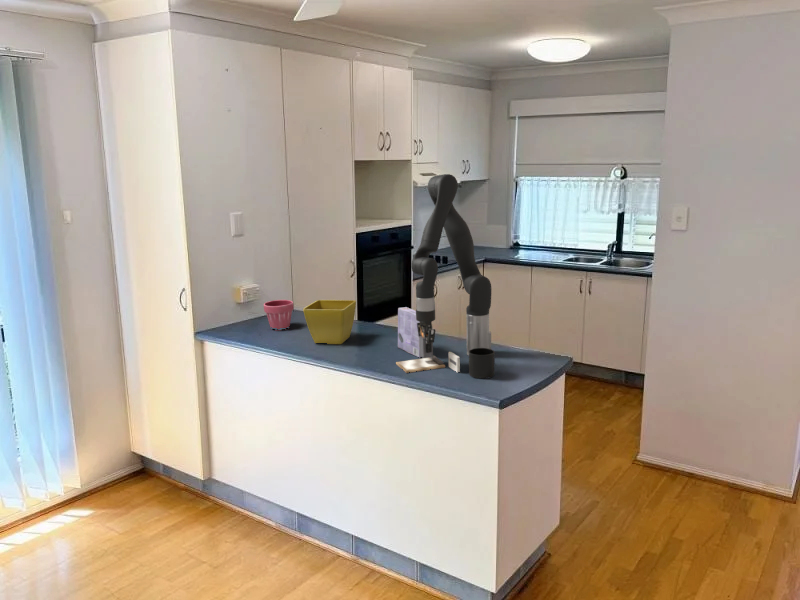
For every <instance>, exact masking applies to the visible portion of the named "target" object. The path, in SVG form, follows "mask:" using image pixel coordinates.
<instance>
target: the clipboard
mask: <svg viewBox="0 0 800 600" xmlns="http://www.w3.org/2000/svg"><path fill="white" fill-rule="evenodd" d="M395 364H396V366H397V367H399V368H400V369H401V370H402V369H403V371H404V372H405V373H406V374H408V373H409V372H410V373H415V372H416V371H417V372H422V371H423V370H424V371H428V370H430V369H431V370H436V369H437V370H438V369H444V368H446V364H444V361H443V360H441V359H440V358H438V357H437V356H436V355H433V357H430V358H417V359H409V360H402V361H396V362H395ZM410 373H409V374H410Z"/></svg>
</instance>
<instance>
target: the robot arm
mask: <svg viewBox="0 0 800 600" xmlns="http://www.w3.org/2000/svg"><path fill="white" fill-rule="evenodd" d="M458 187H459V183H458V180H457V178H456V177H455V176H454V175H453V174H450V173H446V174H439V175H434V176H432V177H430V178H429V180H428V182H427V190H428V195H429V196H430V198H431V201H432V203H433V205H434V208H433V210H432V212H431V214H430V216H429V218H428V220H427V221H426V223H425V226H424V229H423V232H422V237H421V241H420V244H419V246H418V248H417V249H416V251H415V253H414V255H413V257H412V259H411V264H410V266H411V271H412V273H414V274H415V275H418V276H423V278H422V280H421V281H419V282H417V283H416V284H415V311H416V320H417V321H419V323H417V329H418V336H422V332H423V336H424V338H425V343H426V352H427V353H430V352H432V346H431V343H435V339H436V338H435V337H436V329H435V328H433V324H432V322H434V321H435V320H436V300H435V284H436V279H437V276H438V271H439V266H438V262H437V261H436V259H435V258H433V257H429V256H430V255H431V254H434V253H436V252H437V251H438V250H439V248H440V242H441V238H442V235H443V234H442V233H443V230H444V232H445V235H446V238H447V241H448V245H449V247H450V248H451V252H452V253H453V256H454V259H455V261H456V264H457V267H458V269H459V273H460V276H461V282H462V285H463V289H464V291H465V292H466V293H467V294H468V295H469V300H468V301H469V302H468V305H467V306H466V310H465V311H466V313H465V314H466V317H465V318H466V322H465V323H466V355H467V356H468V357H469V351H470V350H471V349H475V348H488V349H492V332H491V331H490V310H491V306H492V282H491V280H490V279H489V278H488V277H487V276H486V275H485V276H484V275H483V274H482V273H481V272H480V270H479V267H478V265H477V262H476V258H475V245H474V239H473V237H472V234H471V231H470V228H469V226H468V223H467V222H466V221H465V220H464V218H463V217H462V216H461V214H460V213H459V212H458V211H457V209H456V208H455V206H454V204H453V202H454V200H455V197H456V195H457V192H458V190H459V189H458ZM427 334H428V335H427ZM426 335H427V336H426ZM427 337H428V338H427Z"/></svg>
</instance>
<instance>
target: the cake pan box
mask: <svg viewBox="0 0 800 600" xmlns="http://www.w3.org/2000/svg"><path fill="white" fill-rule="evenodd" d="M417 323H419V321H417V320H416V309H412V308H409V307H407V306H405V307H398V308H397V348H398V349H400V350H403V351H404V352H406V353H408V354H411V355H413V356H414V357H416V358H418V357H419V358H418V359H422V358H421V356H420V344H419V336H418V329H417Z"/></svg>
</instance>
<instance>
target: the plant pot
mask: <svg viewBox="0 0 800 600" xmlns="http://www.w3.org/2000/svg"><path fill="white" fill-rule="evenodd" d="M294 308H295V307H294V302H293V300H289V299H276V300H270V301H265V302H264V303H263V312H264V313H265V314H266V317H267V320H268V323H269V326H270V328H271V327H272V328H277V329H280V328H287V327H289V326H290V325H291V320H292V314H293V313H292V312H293V311H294ZM289 328H290V327H289Z"/></svg>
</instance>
